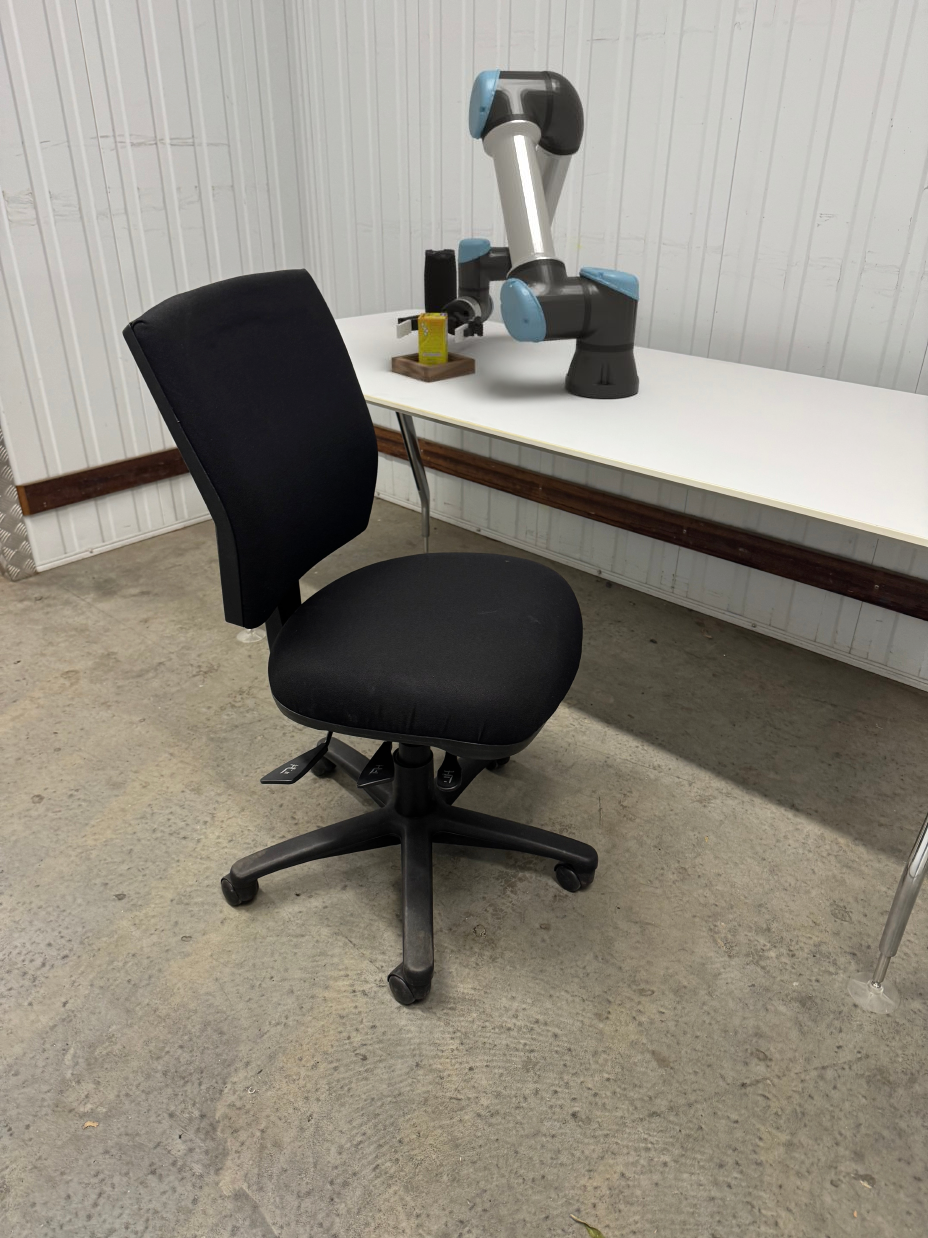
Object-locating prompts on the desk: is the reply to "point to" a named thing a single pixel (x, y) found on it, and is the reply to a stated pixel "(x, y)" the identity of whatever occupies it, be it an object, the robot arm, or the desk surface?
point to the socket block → (433, 367)
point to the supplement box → (433, 338)
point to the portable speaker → (439, 279)
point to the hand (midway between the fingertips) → (427, 333)
